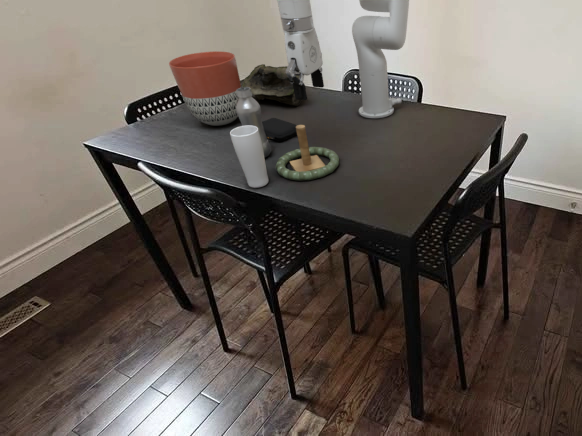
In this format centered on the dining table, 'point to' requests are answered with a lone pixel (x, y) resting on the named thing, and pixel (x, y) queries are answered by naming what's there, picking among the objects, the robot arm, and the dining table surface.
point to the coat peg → (305, 154)
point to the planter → (208, 85)
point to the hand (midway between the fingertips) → (310, 92)
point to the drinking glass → (250, 154)
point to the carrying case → (279, 129)
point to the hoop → (307, 174)
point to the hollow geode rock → (271, 84)
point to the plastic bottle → (251, 114)
